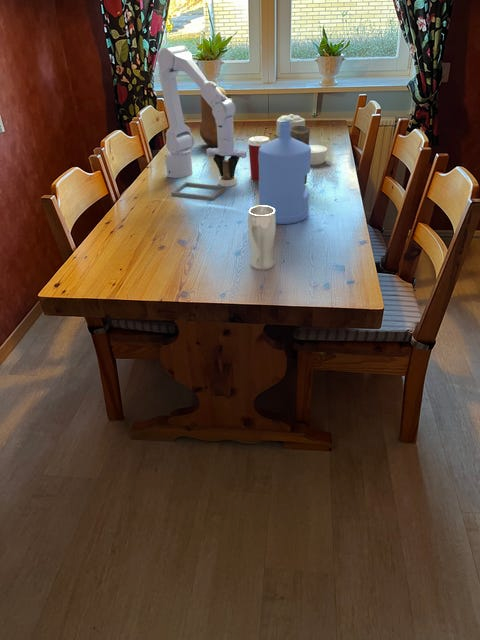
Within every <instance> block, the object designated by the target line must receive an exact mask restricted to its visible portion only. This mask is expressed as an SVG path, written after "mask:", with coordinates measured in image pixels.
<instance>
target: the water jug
mask: <svg viewBox="0 0 480 640" xmlns="http://www.w3.org/2000/svg"><path fill="white" fill-rule="evenodd" d="M290 124H291V122H288V121H283V122H280V136H279V137H277V138H275V139H273V140H270V142H268V143H266V144H264V145H262V146H261V147H260V148H259V155H258V163H259V181H258V193H259V194H258V196H259V197H258V201H259V202H258V203H259V205H258V206H270V207H272V208H274V209H275V217H276V225H290V224H296V223H299V222H301V221H304V220H305V219H306V218H307V217H308V215H309V209H310V206H309V204H310V203H309V201H310V199H309V198H310V193H309V191H308V189H306V187H305V185H306V184H305V176H306V175H307V176H308V174H309V173H310V172H311V165H310V163H311V148H310V146H309V145H310V144H309V145H307V144H305V143H303V142H301V141H298V140H296V139H294V138H292V137H291V136H290V131H291V128H290Z"/></svg>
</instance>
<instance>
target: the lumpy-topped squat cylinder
mask: <svg viewBox="0 0 480 640" xmlns="http://www.w3.org/2000/svg"><path fill="white" fill-rule="evenodd" d="M283 121H288V122H291V124H290V128H291V127H293V126H300V125H301V126H306V119H305V118H304V117H301V116H300V115H295V114H292V113H290V114H287V115H286V114H285V115H281V116H280V117H278V118H277V120H276V137H277V138H278V137H279V136H280V122H283Z"/></svg>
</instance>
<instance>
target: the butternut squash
mask: <svg viewBox="0 0 480 640" xmlns="http://www.w3.org/2000/svg"><path fill="white" fill-rule="evenodd" d="M217 87H218V89H219V90H220V91H221V92H222V94H223V95H225V97H227V93H226V90H225V89H224V88H222V87H221V86H219V85H217ZM200 109H201V110H200V111H201V123H200V126H199V135H200V138H201V139H202V140H203V142H204V143H205V144H207V145H209V146H210V147H212V148H218V139H217V124H216V122H215V118H214V116H213V113H212V110H213V109H212V108H211V106H210V105H209V104H208V103H207V102H206V100H205V99H204V98H203V97H202V95H201V94H200Z"/></svg>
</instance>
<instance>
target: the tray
mask: <svg viewBox="0 0 480 640" xmlns="http://www.w3.org/2000/svg"><path fill="white" fill-rule="evenodd" d="M186 187H194V188H204V189H211V190H218V191H216V192H215V193H214V194H213V195H212V196H211V195H203V194H195V193H188V192H187V193H186V192H181V191H182V190H184V189H185V188H186ZM226 190H227V186H221V185H215V184H214V185H213V184H206V183H197V182H188V181H186V182H184V183H183V184H181V185H180V186H178V187H177V188H176V189H174V190H172V191H171V196H174V197H183V198H190V199H191V198H192V199H198V200H199V199H200V200H206V201H207V200H208V201H214V200H216V199H217V198H218V197H219V196H221V195H222V194H223V193H224V192H225V191H226Z"/></svg>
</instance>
